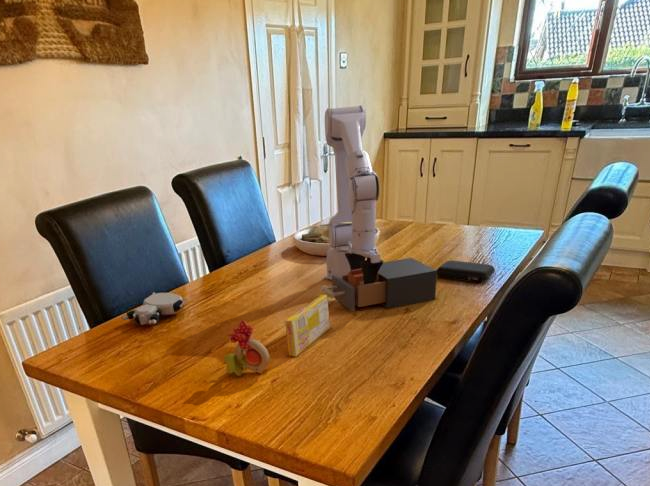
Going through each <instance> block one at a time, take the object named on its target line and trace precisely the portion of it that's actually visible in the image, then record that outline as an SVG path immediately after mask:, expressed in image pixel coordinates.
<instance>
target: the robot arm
mask: <svg viewBox="0 0 650 486" xmlns="http://www.w3.org/2000/svg"><path fill="white" fill-rule="evenodd" d="M366 113H367V112H366V109H365V107H364V106H363V105H361V104H360V105H357V106H343V107H333V108H331V107H327V108H326V109H325V111H324V135H325V141H326V145H327V146H329V147H331V148H332V150H333V155H334V167H335V184H336V185H335V186H336V201H337V204H336V205H337V212H336V213H335V214H334V215H333V216H332V217H331V218H330V219H329V222H328V224H329V244H330V246H331V248H330V249H329V250H328V253H327V256H326V275H325V276H324V278H325V279H327V280H330V281H332V275H338V276H339V277H340V278H342V275H345V274H348V272H350V270H354V269H360V268H361V269H362V272H363V278H364V284H370V283H375V281H376V277H377V274H378V271H379V269H380V267H381V266H382V264H383V262H384V260H383V259H381V253H380V252H378V249H377V247H376V244H375V227H376V228H377V226H376V224H377V223H376V219H377V217H376V216H377V215H376V214H377V202H378V200H379V197H380V180H379V176H378V174H377V173H376V172H375V171H373V168H372V165H371V161H370V156H369V154H368V152H367V151H366V150H364V149H363V144H362V143H363V142H362V138H363V135H364V133H365V130H366V126H367V115H366ZM376 201H377V202H376ZM338 223H352V224H343V225H337V224H338Z"/></svg>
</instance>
